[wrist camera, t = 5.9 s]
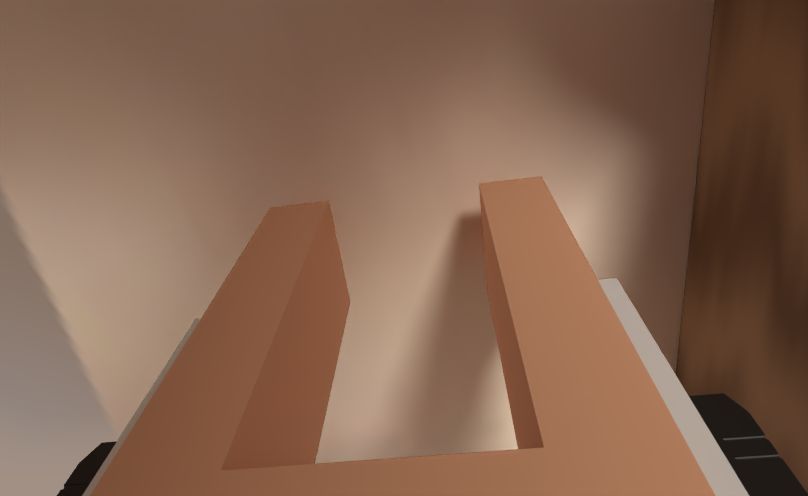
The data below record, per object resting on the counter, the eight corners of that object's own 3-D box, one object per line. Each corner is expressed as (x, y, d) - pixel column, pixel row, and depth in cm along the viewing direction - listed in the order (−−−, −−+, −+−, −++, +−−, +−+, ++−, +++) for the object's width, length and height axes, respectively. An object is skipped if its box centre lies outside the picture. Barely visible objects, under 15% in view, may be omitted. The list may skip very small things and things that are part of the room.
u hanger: (270, 207, 19) (18, 608, 7) (541, 176, 18) (757, 572, 6) (297, 306, 20) (131, 754, 9) (543, 282, 20) (715, 742, 8)
